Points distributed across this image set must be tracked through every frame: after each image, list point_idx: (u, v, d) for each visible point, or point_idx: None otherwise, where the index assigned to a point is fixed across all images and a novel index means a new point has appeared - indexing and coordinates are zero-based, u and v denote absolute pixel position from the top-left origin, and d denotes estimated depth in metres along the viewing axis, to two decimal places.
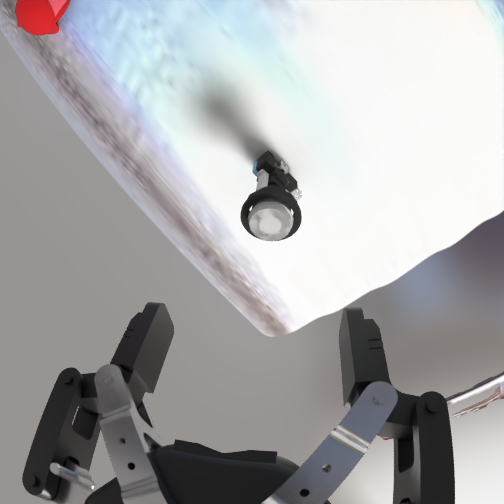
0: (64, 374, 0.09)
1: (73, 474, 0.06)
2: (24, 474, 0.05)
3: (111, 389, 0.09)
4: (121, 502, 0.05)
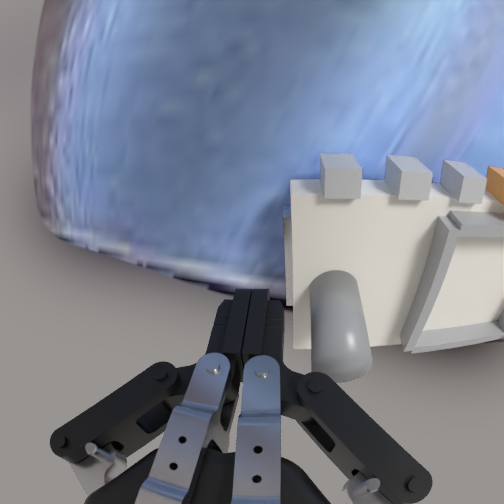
0: (159, 369, 0.09)
1: (107, 460, 0.07)
2: (57, 430, 0.07)
3: (208, 381, 0.09)
4: (121, 502, 0.05)
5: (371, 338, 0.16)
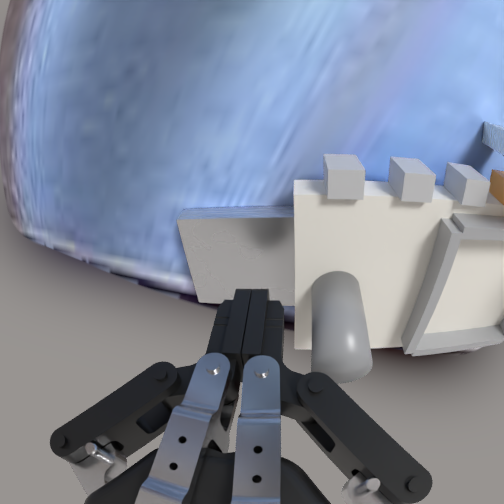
0: (159, 369, 0.09)
1: (107, 460, 0.07)
2: (57, 430, 0.07)
3: (208, 381, 0.09)
4: (121, 502, 0.05)
5: (372, 340, 0.16)
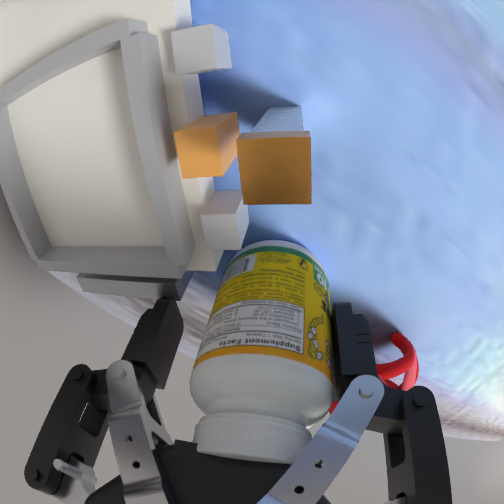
0: (75, 371, 0.09)
1: (76, 471, 0.06)
2: (26, 467, 0.05)
3: (122, 386, 0.09)
4: (121, 502, 0.05)
5: None
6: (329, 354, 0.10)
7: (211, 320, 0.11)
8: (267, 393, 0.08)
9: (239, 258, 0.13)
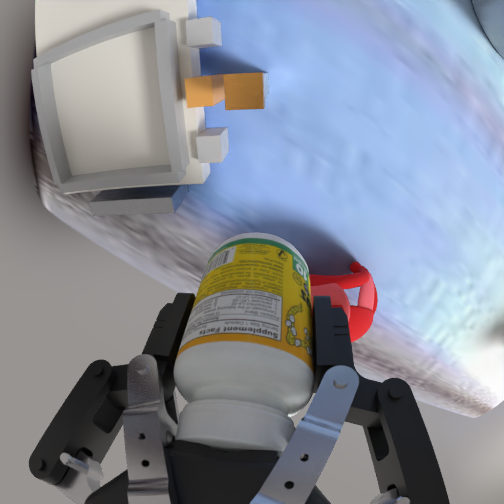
0: (95, 366, 0.09)
1: (83, 466, 0.06)
2: (32, 456, 0.06)
3: (143, 381, 0.09)
4: (121, 502, 0.05)
5: (44, 31, 0.09)
6: (308, 342, 0.10)
7: (193, 311, 0.11)
8: (246, 380, 0.08)
9: (219, 252, 0.13)
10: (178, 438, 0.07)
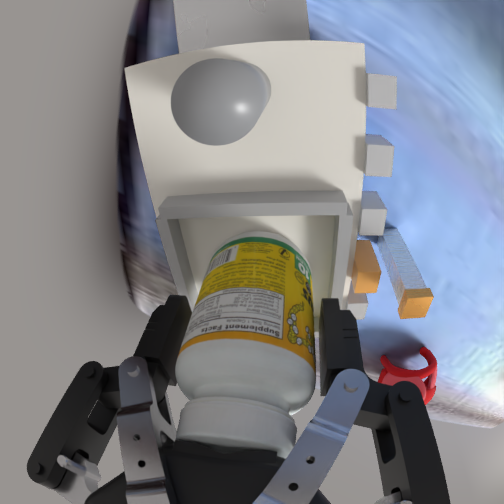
0: (86, 368, 0.09)
1: (80, 468, 0.06)
2: (29, 460, 0.06)
3: (134, 382, 0.09)
4: (121, 502, 0.05)
5: (158, 160, 0.12)
6: (310, 340, 0.10)
7: (195, 309, 0.11)
8: (247, 377, 0.08)
9: (222, 250, 0.13)
10: (179, 435, 0.07)
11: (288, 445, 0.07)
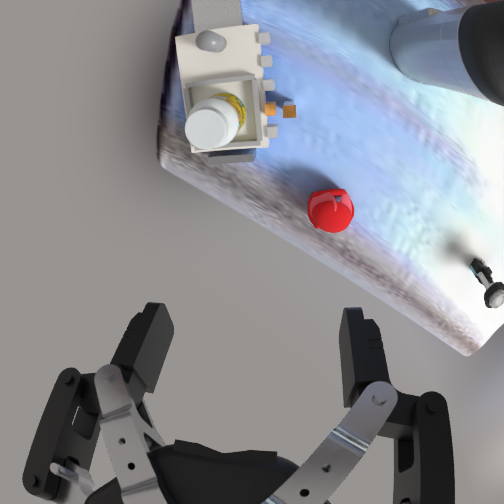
0: (64, 374, 0.09)
1: (73, 474, 0.06)
2: (24, 474, 0.05)
3: (111, 389, 0.09)
4: (121, 502, 0.05)
5: (185, 69, 0.29)
6: (236, 108, 0.27)
7: None
8: (212, 105, 0.25)
9: None
10: (187, 119, 0.24)
11: (223, 118, 0.24)
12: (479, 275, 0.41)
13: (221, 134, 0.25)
